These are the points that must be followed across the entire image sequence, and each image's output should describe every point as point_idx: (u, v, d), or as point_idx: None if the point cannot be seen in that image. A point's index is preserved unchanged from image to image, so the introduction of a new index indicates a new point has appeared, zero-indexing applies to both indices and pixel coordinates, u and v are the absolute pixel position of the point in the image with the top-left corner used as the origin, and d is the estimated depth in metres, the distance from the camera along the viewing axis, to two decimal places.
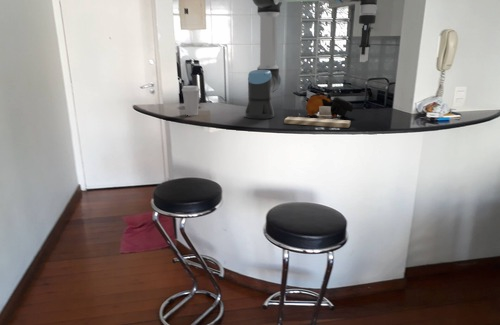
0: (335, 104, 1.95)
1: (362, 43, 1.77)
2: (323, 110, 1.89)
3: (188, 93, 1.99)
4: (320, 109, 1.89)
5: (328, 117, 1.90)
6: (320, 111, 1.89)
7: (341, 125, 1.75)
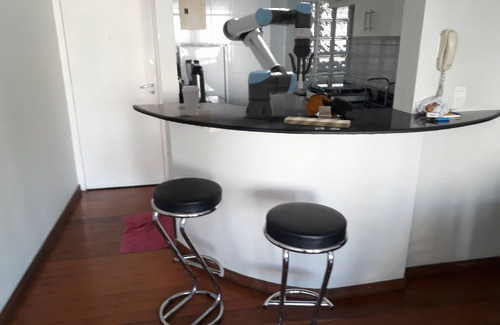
0: (335, 104, 1.95)
1: None
2: (323, 110, 1.89)
3: (188, 93, 1.99)
4: (320, 109, 1.89)
5: (328, 117, 1.90)
6: (320, 111, 1.90)
7: (341, 125, 1.75)
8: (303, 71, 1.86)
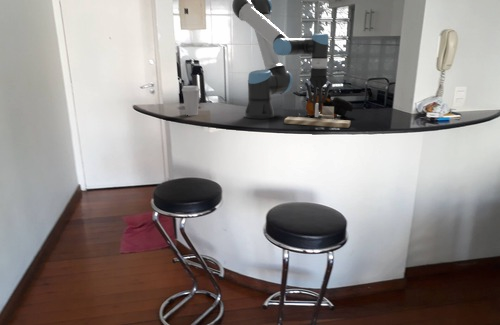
0: (335, 104, 1.96)
1: None
2: (326, 110, 1.89)
3: (188, 93, 1.99)
4: (324, 109, 1.89)
5: (331, 117, 1.89)
6: (323, 111, 1.89)
7: (341, 125, 1.75)
8: (319, 100, 1.87)
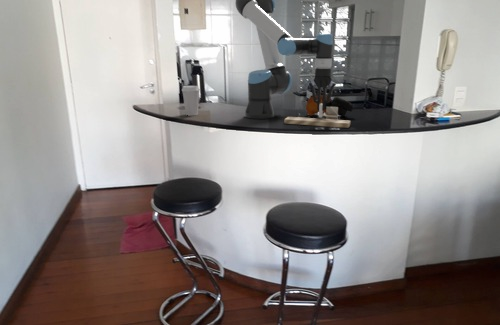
0: (335, 104, 1.96)
1: None
2: (330, 110, 1.88)
3: (188, 93, 1.99)
4: (328, 109, 1.88)
5: (335, 118, 1.88)
6: (327, 111, 1.88)
7: (341, 125, 1.75)
8: (323, 101, 1.86)
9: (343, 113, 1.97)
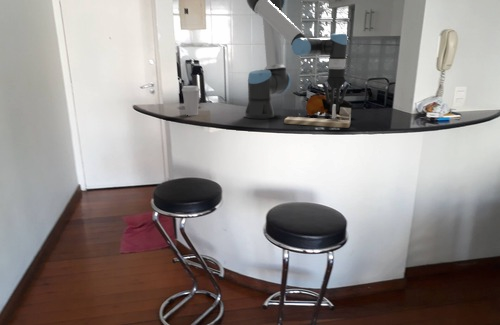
0: None
1: None
2: (343, 111, 1.85)
3: (188, 93, 1.99)
4: (341, 110, 1.86)
5: (348, 119, 1.85)
6: (341, 112, 1.86)
7: (341, 125, 1.75)
8: (337, 101, 1.84)
9: None
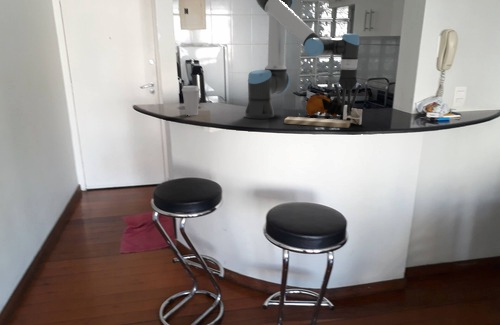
0: (335, 104, 1.96)
1: None
2: (355, 112, 1.82)
3: (188, 93, 1.99)
4: (352, 111, 1.83)
5: None
6: (352, 113, 1.83)
7: (341, 125, 1.75)
8: (348, 102, 1.82)
9: None
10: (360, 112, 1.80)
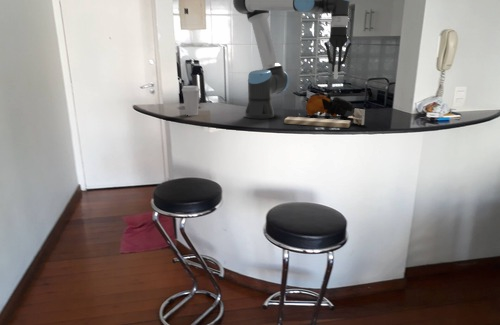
0: (335, 104, 1.96)
1: None
2: (358, 113, 1.82)
3: (188, 93, 1.99)
4: (355, 111, 1.82)
5: None
6: (355, 113, 1.83)
7: (341, 125, 1.75)
8: (339, 61, 1.80)
9: (343, 113, 1.97)
10: (363, 112, 1.79)
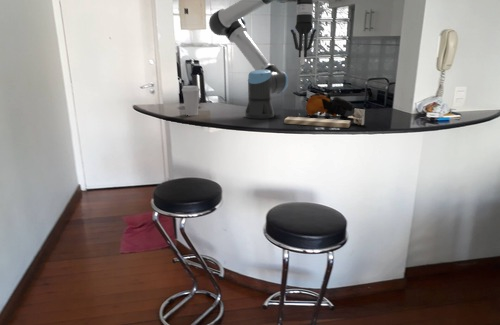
0: (335, 104, 1.96)
1: None
2: (358, 113, 1.82)
3: (188, 93, 1.99)
4: (355, 111, 1.82)
5: None
6: (355, 113, 1.83)
7: (341, 125, 1.75)
8: (305, 47, 1.90)
9: (343, 113, 1.97)
10: (363, 112, 1.80)
